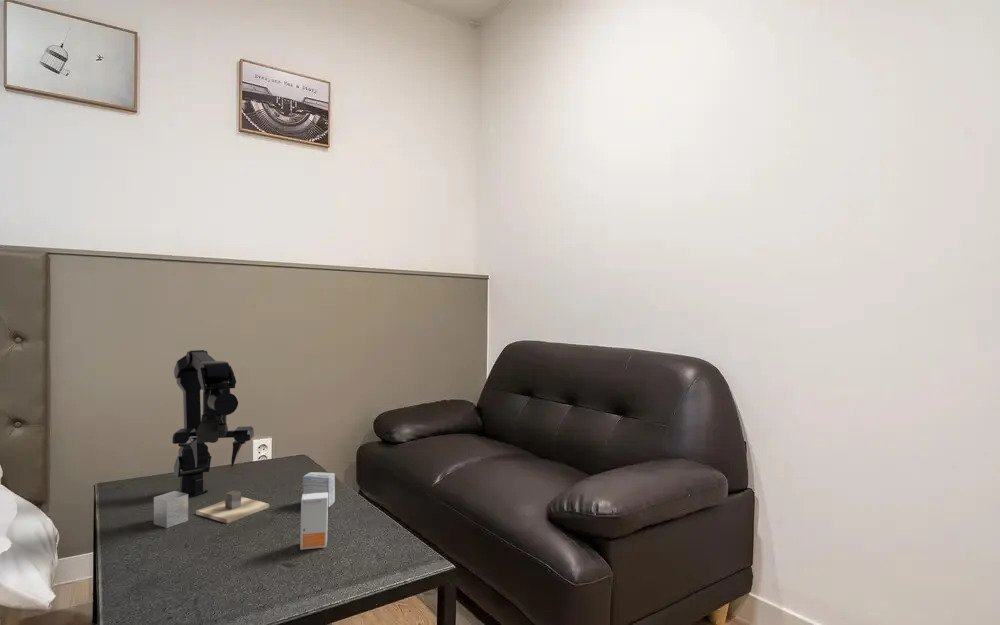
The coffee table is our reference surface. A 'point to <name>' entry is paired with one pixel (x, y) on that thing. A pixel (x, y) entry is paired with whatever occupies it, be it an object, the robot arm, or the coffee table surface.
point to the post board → (233, 513)
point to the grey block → (170, 509)
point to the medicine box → (320, 484)
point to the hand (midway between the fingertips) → (214, 466)
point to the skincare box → (314, 520)
